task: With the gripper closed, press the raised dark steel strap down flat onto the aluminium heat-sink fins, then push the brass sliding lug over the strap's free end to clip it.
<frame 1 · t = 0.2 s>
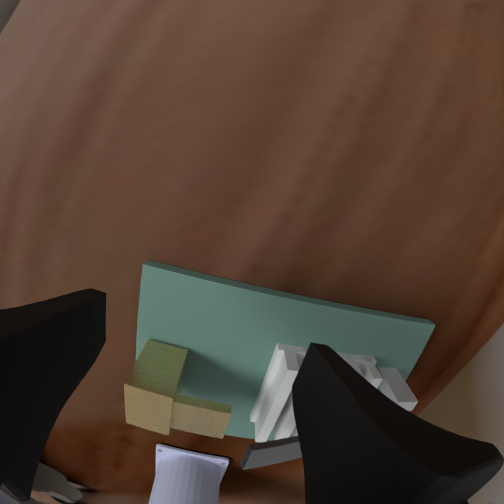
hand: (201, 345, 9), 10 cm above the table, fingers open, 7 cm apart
strap: (330, 438, 16), point 6 cm above the table, hinge at 20.0°
lug: (181, 393, 17), point 4 cm above the table, slide at 0.0 cm
board: (285, 378, 21), on the table
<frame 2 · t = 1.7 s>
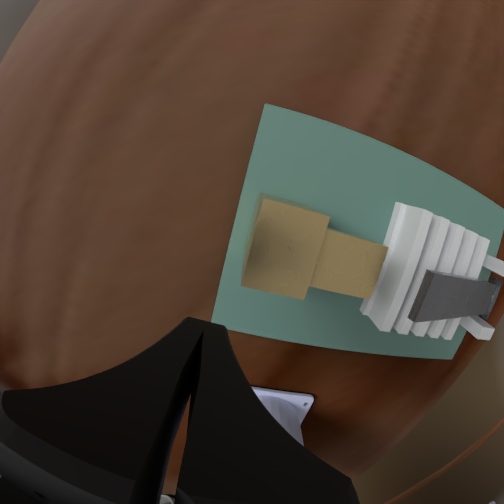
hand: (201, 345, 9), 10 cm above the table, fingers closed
ceramic mug: (184, 501, 29), on the table
strap: (467, 297, 13), point 6 cm above the table, hinge at 20.0°
lug: (310, 247, 15), point 4 cm above the table, slide at 0.0 cm
board: (394, 259, 19), on the table
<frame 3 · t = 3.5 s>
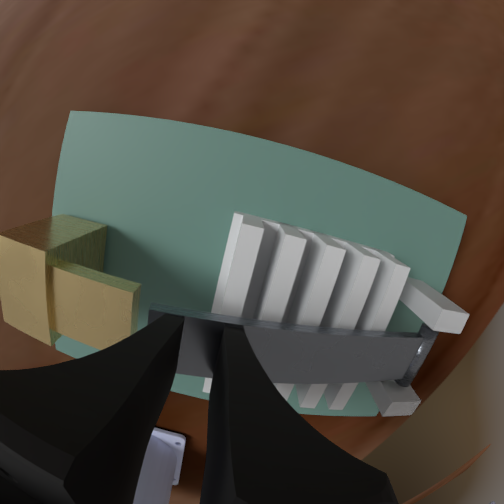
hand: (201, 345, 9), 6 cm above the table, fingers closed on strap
strap: (317, 356, 10), point 5 cm above the table, hinge at 9.2°, touching gripper
lug: (83, 281, 11), point 4 cm above the table, slide at 0.0 cm
board: (255, 291, 15), on the table
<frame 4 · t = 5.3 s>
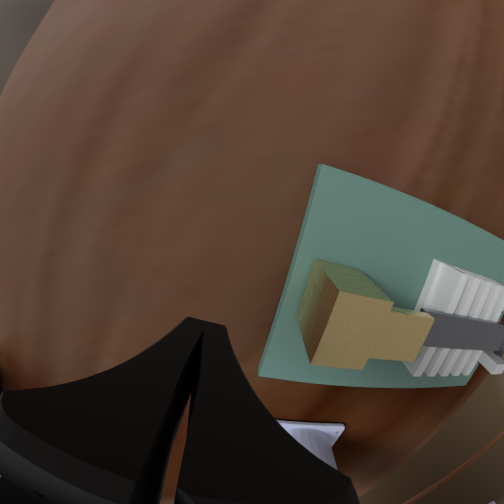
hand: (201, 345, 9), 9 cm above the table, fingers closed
strap: (471, 334, 15), point 4 cm above the table, hinge at -0.6°, touching board
lug: (365, 316, 15), point 4 cm above the table, slide at 0.0 cm
board: (425, 307, 19), on the table
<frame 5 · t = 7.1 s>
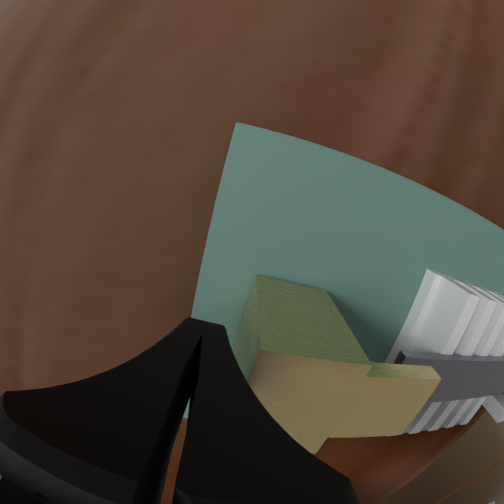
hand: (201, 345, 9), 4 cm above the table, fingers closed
strap: (476, 378, 10), point 4 cm above the table, hinge at -0.6°, touching board
lug: (329, 367, 9), point 4 cm above the table, slide at 1.2 cm, touching gripper
board: (414, 336, 14), on the table
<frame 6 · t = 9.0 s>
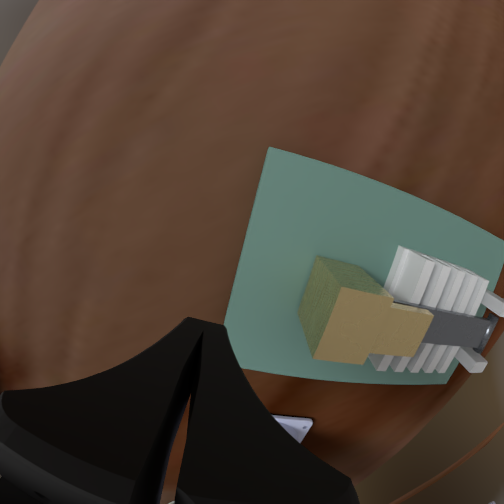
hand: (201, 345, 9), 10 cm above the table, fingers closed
strap: (443, 327, 16), point 4 cm above the table, hinge at -0.6°, touching board
lug: (365, 312, 15), point 4 cm above the table, slide at 3.4 cm
board: (394, 298, 19), on the table
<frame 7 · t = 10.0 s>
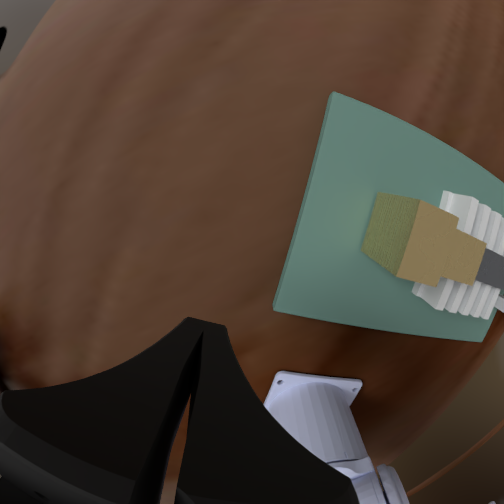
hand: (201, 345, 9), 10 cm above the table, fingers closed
strap: (488, 267, 15), point 4 cm above the table, hinge at -0.6°, touching board
lug: (427, 242, 15), point 4 cm above the table, slide at 3.4 cm
board: (439, 245, 19), on the table
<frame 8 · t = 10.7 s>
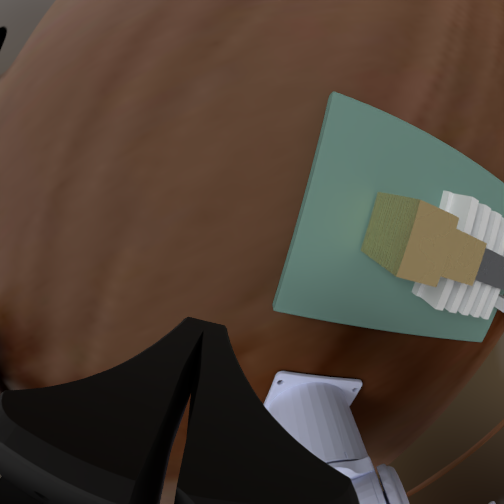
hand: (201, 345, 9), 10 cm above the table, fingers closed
strap: (488, 267, 15), point 4 cm above the table, hinge at -0.6°, touching board
lug: (427, 242, 15), point 4 cm above the table, slide at 3.4 cm
board: (439, 245, 19), on the table
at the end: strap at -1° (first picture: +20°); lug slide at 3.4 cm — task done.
